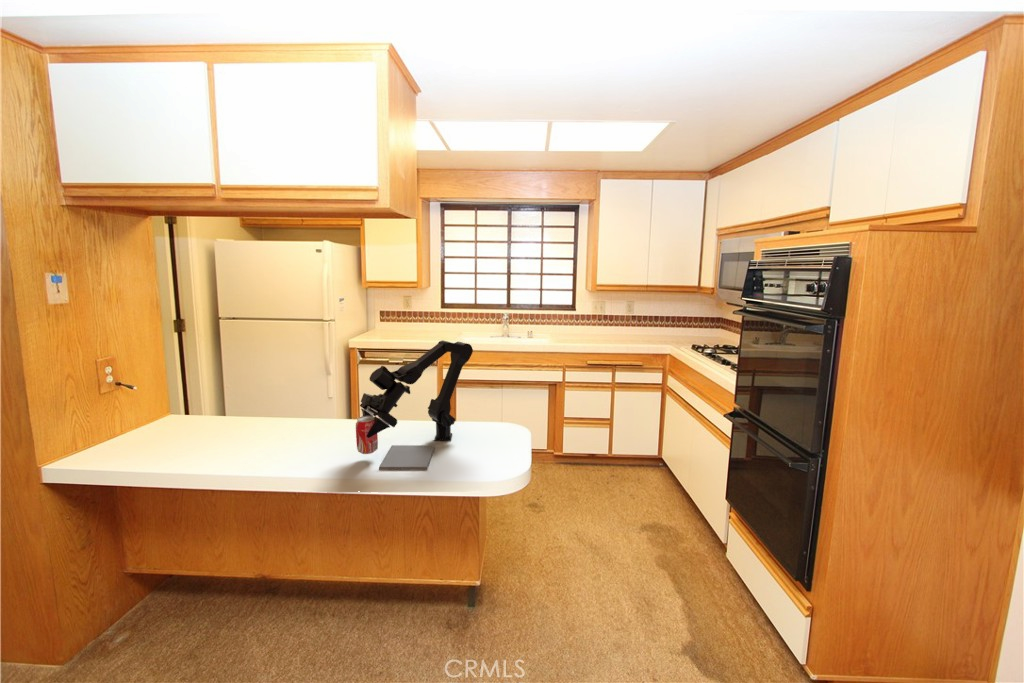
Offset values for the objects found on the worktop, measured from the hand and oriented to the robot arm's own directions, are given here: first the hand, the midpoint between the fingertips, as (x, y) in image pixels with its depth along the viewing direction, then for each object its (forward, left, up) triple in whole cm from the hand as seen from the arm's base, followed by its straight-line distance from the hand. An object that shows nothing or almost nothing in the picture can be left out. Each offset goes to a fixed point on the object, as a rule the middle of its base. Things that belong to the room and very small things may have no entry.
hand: (362, 434), depth 156 cm
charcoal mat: (-2, +15, -10) cm, 18 cm away
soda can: (-1, +1, -7) cm, 7 cm away
